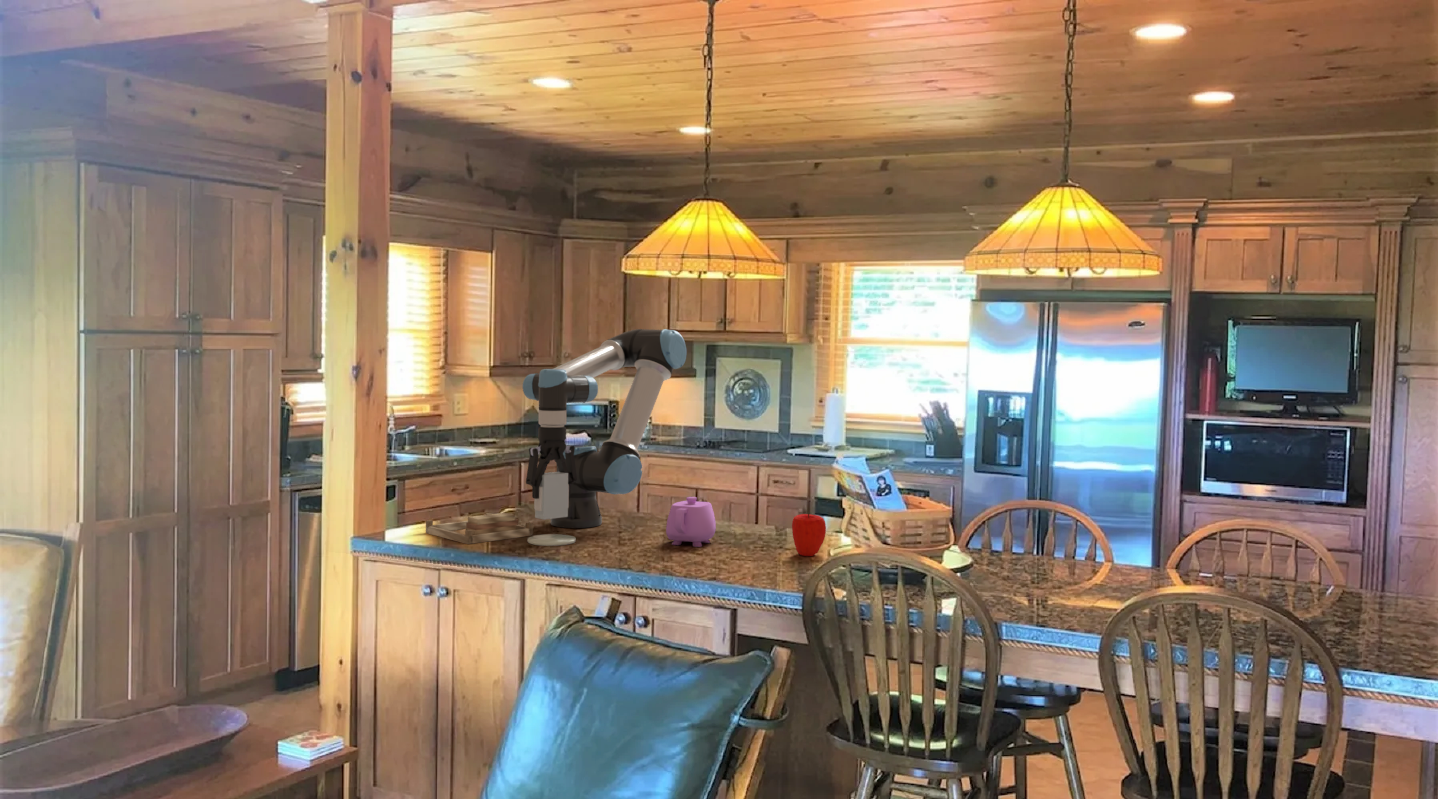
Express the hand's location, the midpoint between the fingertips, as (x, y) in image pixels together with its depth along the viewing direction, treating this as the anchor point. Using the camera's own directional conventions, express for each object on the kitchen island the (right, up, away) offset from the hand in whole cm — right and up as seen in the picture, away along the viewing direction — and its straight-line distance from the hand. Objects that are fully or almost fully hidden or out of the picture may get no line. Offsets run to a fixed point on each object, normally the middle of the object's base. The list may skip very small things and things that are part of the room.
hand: (551, 508), depth 314 cm
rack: (-22, -8, +10) cm, 25 cm away
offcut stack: (-17, -8, +5) cm, 20 cm away
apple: (+69, -11, -13) cm, 71 cm away
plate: (0, -9, +1) cm, 9 cm away
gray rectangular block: (0, -2, 0) cm, 2 cm away
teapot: (+38, -10, +2) cm, 39 cm away
